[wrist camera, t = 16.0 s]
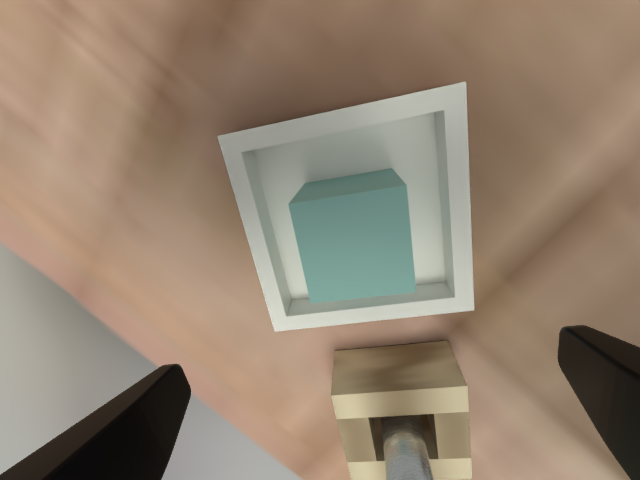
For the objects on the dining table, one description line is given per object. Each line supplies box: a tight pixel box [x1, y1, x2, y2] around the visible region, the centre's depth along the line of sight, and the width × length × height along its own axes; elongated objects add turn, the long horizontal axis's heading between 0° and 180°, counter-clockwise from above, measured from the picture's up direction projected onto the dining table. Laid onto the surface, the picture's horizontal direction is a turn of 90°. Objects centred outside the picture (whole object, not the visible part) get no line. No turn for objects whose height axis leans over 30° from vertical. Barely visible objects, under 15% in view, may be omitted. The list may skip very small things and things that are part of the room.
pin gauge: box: [381, 415, 434, 480], centre depth 19 cm, size 3×3×9 cm
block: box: [288, 168, 416, 303], centre depth 16 cm, size 5×5×5 cm
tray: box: [217, 82, 474, 332], centre depth 18 cm, size 12×12×2 cm
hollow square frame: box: [331, 340, 472, 480], centre depth 22 cm, size 8×8×4 cm
